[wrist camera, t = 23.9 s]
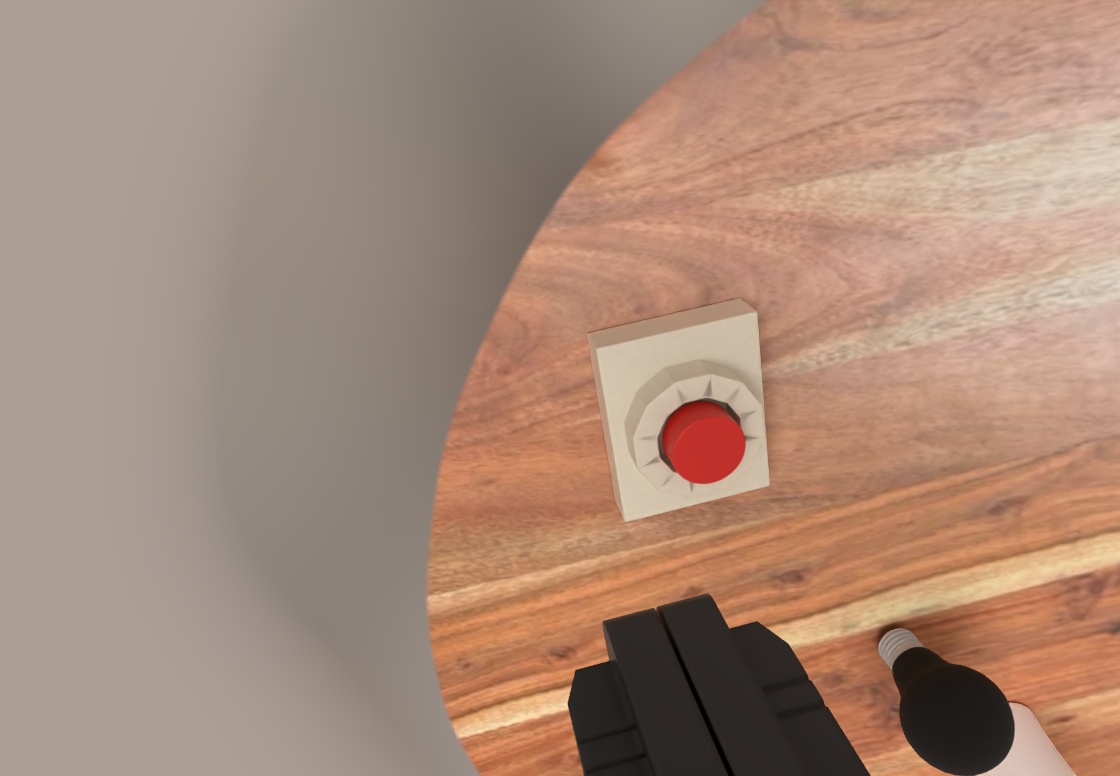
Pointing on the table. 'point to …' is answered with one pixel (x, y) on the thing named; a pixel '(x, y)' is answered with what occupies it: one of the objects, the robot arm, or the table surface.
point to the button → (703, 442)
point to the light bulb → (948, 708)
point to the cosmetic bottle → (1030, 750)
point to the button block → (677, 400)
